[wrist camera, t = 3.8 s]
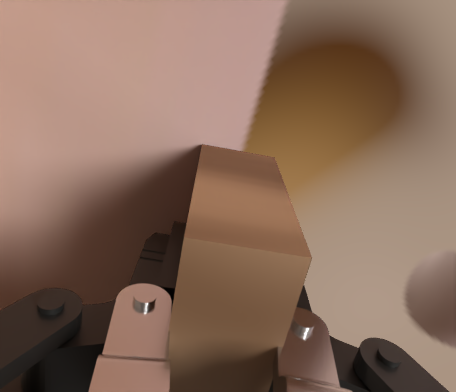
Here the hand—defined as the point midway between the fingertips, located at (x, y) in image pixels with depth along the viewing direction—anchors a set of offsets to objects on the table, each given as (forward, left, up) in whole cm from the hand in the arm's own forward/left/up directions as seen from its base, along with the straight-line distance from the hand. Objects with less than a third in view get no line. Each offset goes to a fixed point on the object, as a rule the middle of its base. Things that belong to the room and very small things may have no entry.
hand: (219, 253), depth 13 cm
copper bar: (+6, 0, -1) cm, 6 cm away
